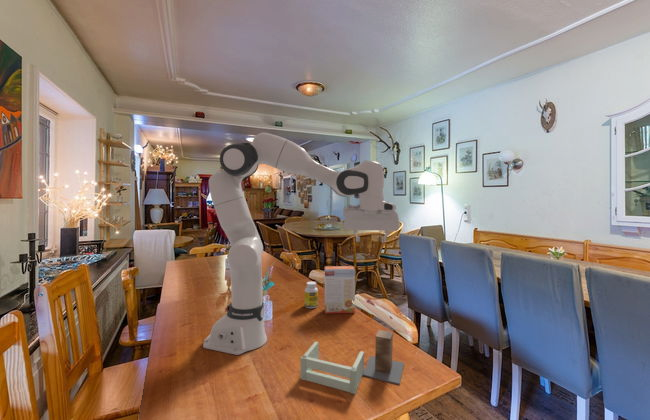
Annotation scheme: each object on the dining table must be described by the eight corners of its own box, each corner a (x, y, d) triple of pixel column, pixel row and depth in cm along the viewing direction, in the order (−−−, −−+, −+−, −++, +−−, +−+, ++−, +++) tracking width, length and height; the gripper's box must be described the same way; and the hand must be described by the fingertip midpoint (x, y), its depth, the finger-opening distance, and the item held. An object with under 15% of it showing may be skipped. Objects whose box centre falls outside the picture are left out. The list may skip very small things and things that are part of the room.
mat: (362, 375, 87) (362, 374, 87) (370, 356, 97) (370, 355, 97) (399, 384, 83) (399, 383, 83) (404, 364, 93) (404, 362, 93)
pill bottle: (306, 309, 136) (306, 285, 136) (303, 304, 143) (303, 281, 142) (319, 308, 138) (319, 284, 137) (316, 303, 144) (316, 280, 144)
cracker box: (353, 308, 138) (353, 265, 137) (355, 313, 132) (355, 268, 131) (324, 308, 138) (324, 265, 136) (324, 313, 131) (324, 268, 130)
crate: (300, 379, 85) (300, 357, 85) (314, 360, 95) (314, 341, 94) (355, 394, 79) (355, 371, 79) (364, 372, 89) (364, 352, 88)
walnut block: (375, 370, 89) (375, 336, 88) (377, 362, 93) (378, 329, 92) (389, 374, 87) (390, 339, 87) (392, 366, 91) (392, 332, 91)
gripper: (342, 205, 105) (342, 242, 105) (400, 205, 102) (399, 244, 103) (343, 204, 111) (343, 239, 112) (397, 205, 108) (397, 241, 109)
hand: (370, 242), depth 107 cm, fingers open, 8 cm apart
